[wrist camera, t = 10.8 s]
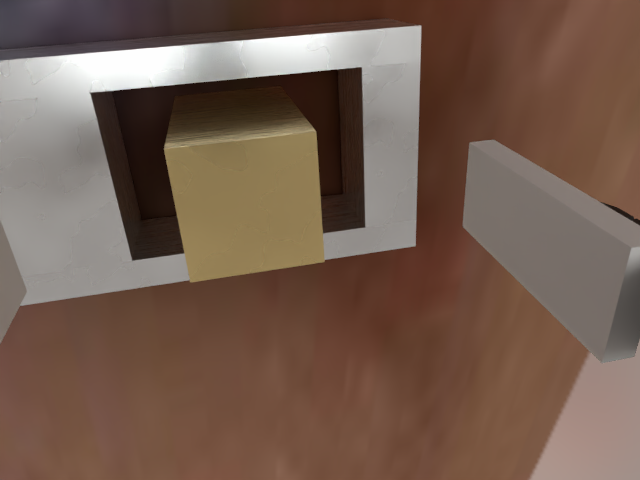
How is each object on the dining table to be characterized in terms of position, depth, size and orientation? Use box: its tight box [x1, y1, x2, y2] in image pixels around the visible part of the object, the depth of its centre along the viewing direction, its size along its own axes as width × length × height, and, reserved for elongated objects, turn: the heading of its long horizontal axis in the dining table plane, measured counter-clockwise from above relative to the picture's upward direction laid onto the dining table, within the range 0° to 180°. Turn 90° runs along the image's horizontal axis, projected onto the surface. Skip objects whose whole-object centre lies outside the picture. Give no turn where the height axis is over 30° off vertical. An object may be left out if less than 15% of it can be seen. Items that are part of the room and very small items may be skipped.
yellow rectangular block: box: [164, 86, 325, 282], centre depth 20 cm, size 4×4×8 cm
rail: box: [0, 18, 421, 306], centre depth 21 cm, size 9×28×4 cm, turn 94°
